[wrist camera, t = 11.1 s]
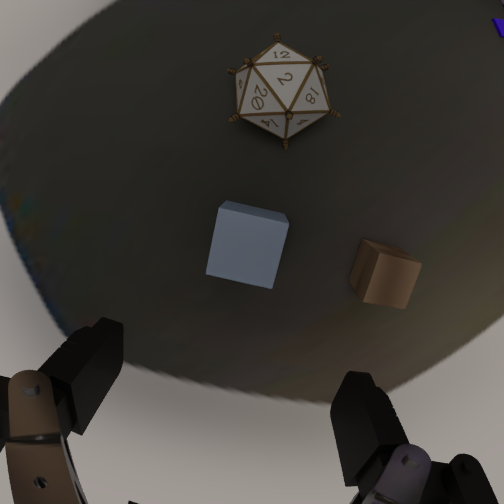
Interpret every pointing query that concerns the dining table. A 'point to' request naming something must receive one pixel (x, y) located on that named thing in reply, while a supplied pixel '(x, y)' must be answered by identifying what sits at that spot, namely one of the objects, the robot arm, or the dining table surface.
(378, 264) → the walnut block
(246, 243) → the blue block
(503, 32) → the building block set
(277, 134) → the game die
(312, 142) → the dining table surface
